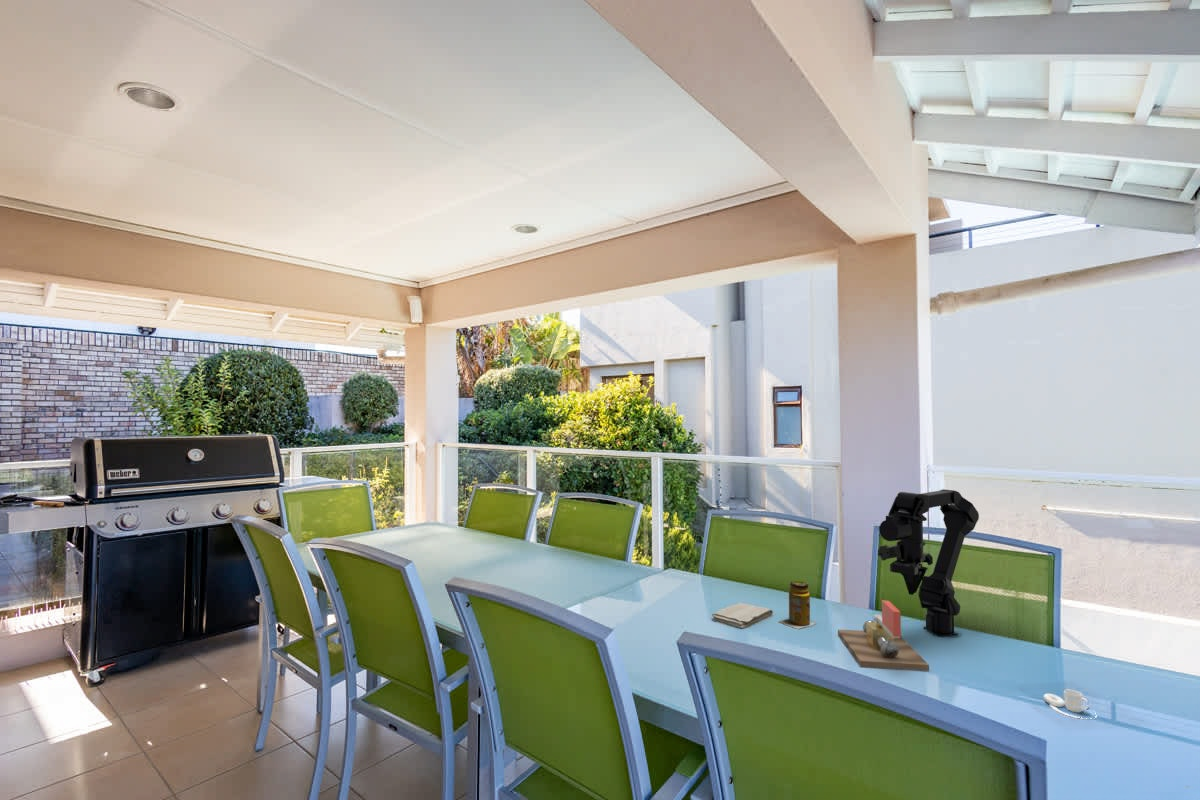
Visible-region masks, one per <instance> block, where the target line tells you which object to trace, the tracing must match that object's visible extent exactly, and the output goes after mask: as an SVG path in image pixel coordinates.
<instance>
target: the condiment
mask: <svg viewBox="0 0 1200 800" xmlns="http://www.w3.org/2000/svg"><path fill="white" fill-rule="evenodd" d="M789 585H790V587H789V591H788V618H785V619H782V620H779V621H778V622H779V623H781V624H783V625H786V626H788V627H791V628H794V629H796V630H800V629H802V628H803V629H804V628H806V627H807V628H808V627H811V626H813V625H814V626H815V625H817V623H816V622H812V621H811V614H810V613H811V602H810V600H811V599H810V598H811V597H810V592H809V583H808V582H805V581H797V580H796V581H794V580H793V581H791V582H790V583H789Z"/></svg>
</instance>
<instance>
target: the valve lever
mask: <svg viewBox="0 0 1200 800" xmlns="http://www.w3.org/2000/svg"><path fill="white" fill-rule="evenodd" d="M901 615H902V613H901V611H900V610H899V609H898V608H897V607H896V606H895V605H894V604H893V603H892V602H891V601H890V600H885V599H884V600H883V599H882V600H881V614H880V613H875V614H873V621H874V622H876V621H877V622H879V623H880V624H881V626H882V627H883V628H884V629H885V630H886V631H887V632H888V633H889V634H890V636H891V637H892V638H900V637H902V632H901V631H902V627H901V626H902V623H901V622H902V621H901V620H902V618H901V617H902V616H901Z"/></svg>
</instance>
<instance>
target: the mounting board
mask: <svg viewBox="0 0 1200 800" xmlns="http://www.w3.org/2000/svg"><path fill="white" fill-rule="evenodd" d="M837 635H838V637H839V638H840V640H841V641H842V643H843V644H844V645H845V647H846V648H847V650H848V651H849V652H850V654H851V655H852V657H853V658H854V660H855V661H856V662H857V664H858V666H859V665H860V666H859V667H860V668H869V667H870V669H871V668H873V669H887V670H892V669H893V670H904V671H905V670H906V671H907V670H908V671H920V672H922V671H923V672H930V664H929V663H928V662H927V661H926V660H925V659H924V658H923V657H922V656H921V655H920V654H919V653H918V652H917V651H916V650H915V648H913V647H912V646H911V645H910V644H909V642H907V641H906V640H905V639H904V638H903V637H902V636H901V637H900V638H894V643H895V644H896V645H897V647H898V649H899V652H898V654H897V656H896V657H894V658H888V657H886V656H885V655H884V654H882V653H881V652H880V651H879V650H875V649H872V648H871V646H870V645H869V644H868V643H867V641H866V633H865V632H864V630H857V629H856V630H855V629H852V630H851V629H837Z"/></svg>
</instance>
